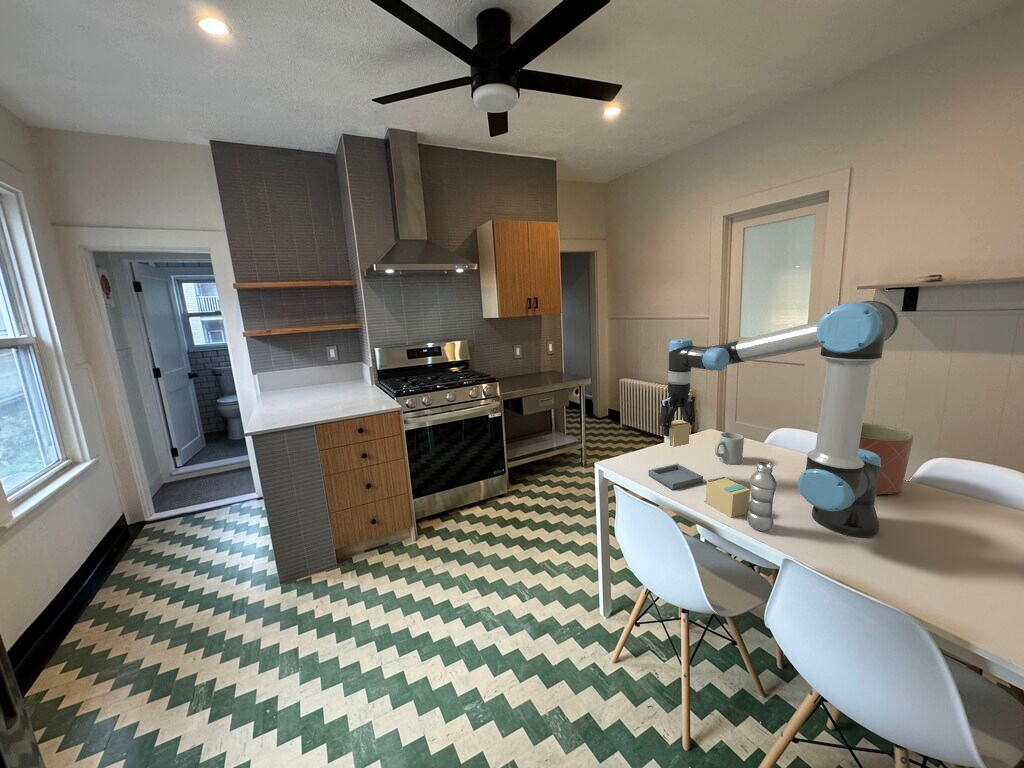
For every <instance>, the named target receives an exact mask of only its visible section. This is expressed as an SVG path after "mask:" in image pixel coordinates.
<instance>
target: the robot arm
mask: <svg viewBox="0 0 1024 768" xmlns="http://www.w3.org/2000/svg"><path fill="white" fill-rule="evenodd" d="M899 318H900V317H899V316H898V313H897V311H896V310H895V309H894V308H893V307H892V306H891V305H889V304H887V303H886V302H882V301H879V300H864V301H853V302H846V303H842V304H839V305H837V306H835V307H833V308H830V309H829V310H828V311H826V312H825V313H824V314H823V315H822V316H821V318H820V319H819V320H818V321H814V322H810V323H804V324H801V325H797V326H794V327H789V328H785V329H781V330H776V331H772V332H769V333H764V334H761V335H756V336H752V337H748V338H743V339H740V340H735V341H730V342H726V343H722V344H716V345H709V346H701V345H700V346H699V345H698V346H697V345H694V343H693V340H692V339H690V338H675V339H671V340H670V342H669V345H668V346H669V348H668V369H667V372H668V374H667V381H668V382H667V390H666V391H667V392H668V396H667V398H665V399H661V400H660V405H661V407H660V417H659V420H658V421H659V424H658V425H659V426H661V428H662V427H663V437H664V436H665V443H664V444H665V445H668V446H670V445H671V441H672V428H670V426H671V423H672V421H674V416H675V414H676V412H677V411H678V409H679V410H680V413H681V417H682V421H685V422H689V423H690V426H692V425H693V423H695V421H696V413H695V400H696V397H695V396H693V395H690V393H691V383H690V382H691V379H692V377H691V376H692V368H693V369H701V370H706V371H712V372H713V371H718V372H719V371H723V370H725V368H727V367H728V366H729V365H735V364H739V363H744V362H745V363H746V362H750V361H754V360H755V361H756V360H760V359H765V358H770V357H775V356H782V355H787V354H791V353H797V352H803V351H808V350H813V349H818V348H821V349H820V357H821V358H822V359H823V360H824V361H825V362H826V366H825V375H824V382H823V389H822V390H823V391H822V397H821V403H820V404H821V405H820V412H819V419H818V429H817V435H816V443H815V448H814V449H812V450H810V451H809V452H807V457H806V466H805V470H804V471H802V472H801V474H800V475H799V476H798V479H797V489H798V491H799V493H800V495H801V496H802V497H803V498H804V499H805V501H807V502H808V503H809V504H810V505H812V506H813V507H812V511H811V517H812V519H813V520H814V521H815V523H817V524H819V525H820V526H822V527H823V528H826V529H828V530H830V531H833V532H834V533H838V534H842V535H844V536H845V535H846V536H848V537H849V536H850V537H855V538H871V537H875V536H877V535H878V534H879V530H880V526H881V525H880V521H879V517H878V514H877V510H876V507H875V501H876V496H877V495H876V490H877V484H878V477H879V471H880V468H881V458H880V457H879V455H877V454H875V453H873V452H870V451H867V450H864V449H859V443H860V437H861V431H862V424H863V423H864V417H865V411H866V404H867V399H868V391H869V385H870V379H871V378H870V377H871V373H872V367H873V365H874V364H876V363H877V362H879V361H880V360H882V358H883V352H884V351H883V349H884V345H885V342H886V341H887V340H889V339H890V338H892V336H893V335H894V334H895V333H896V331H897V329H898V327H899Z"/></svg>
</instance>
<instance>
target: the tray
mask: <svg viewBox="0 0 1024 768" xmlns="http://www.w3.org/2000/svg"><path fill="white" fill-rule="evenodd" d="M647 477H649V478H651V479H653V480H654V481H656V482H658V483H659V484H661V485H662V486H664V487H666V488H667V489H670V490H671V491H675V490H681V489H683V488H687V487H692V486H695V485H696V486H697V485H699V484H700V485H701V484H703V483H704V476H703V475H701V474H699V473H697V472H695V471H694V470H691V469H689V468H687V467H685V466H684V465H681V464H679V463H675V464H670V465H666V466H665V465H664V466H660V467H656V468H652V469H651V468H650V469H648V476H647Z"/></svg>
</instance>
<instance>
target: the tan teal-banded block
mask: <svg viewBox="0 0 1024 768" xmlns="http://www.w3.org/2000/svg"><path fill="white" fill-rule="evenodd" d="M750 497H751V488H750V489H749V488H747V487H746V486H744V485H742V484H740V483H737V482H735V481H732V480H730V479H728V478H726V477H725V476H721V477H718V478H712V479H709V480H706V491H705V500H704V501H703V502H704V503H705V504H707V505H708V506H710V507H712V508H713V509H716V511H719V512H720V513H722V514H724V515H725V514H726V516H727V517H729V518H730V519H732V517H733V518H736V517H740V516H742V515H747V514H748V511H749V508H750ZM739 515H740V516H739ZM735 516H736V517H735Z"/></svg>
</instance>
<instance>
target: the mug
mask: <svg viewBox="0 0 1024 768" xmlns="http://www.w3.org/2000/svg"><path fill="white" fill-rule="evenodd" d="M744 443H745V437H744V435H742V434H740V433H736V432H721V434H720V437H719V441H717V442H716V444H715V448H714V453H715V456H716V457H718V460H719V461H720V462H721V463H723V464H727V465H732V466H737V465H740V464H742V463H743V457H744V454H743V453H744Z"/></svg>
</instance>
